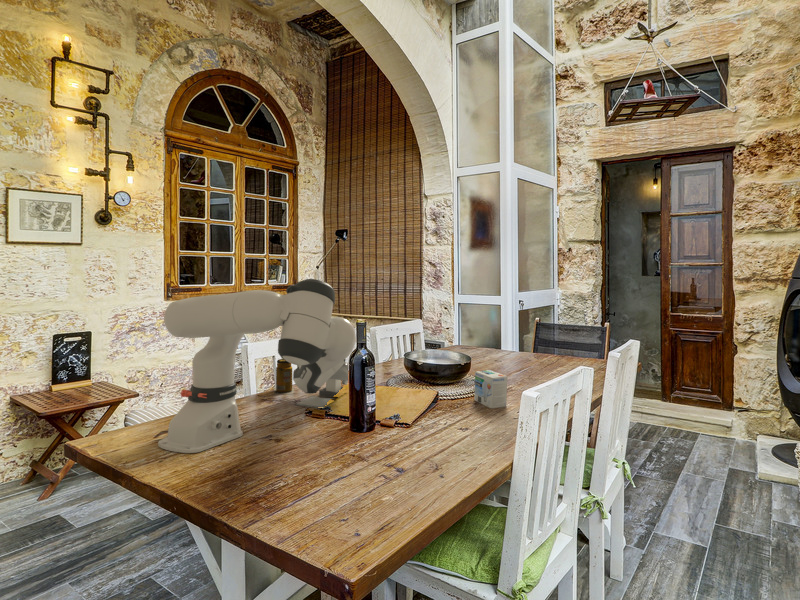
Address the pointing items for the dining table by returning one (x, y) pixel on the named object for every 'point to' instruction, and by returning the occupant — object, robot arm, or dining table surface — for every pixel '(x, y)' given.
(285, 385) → the condiment
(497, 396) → the light bulb box
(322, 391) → the collar
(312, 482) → the dining table surface
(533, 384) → the dining table surface
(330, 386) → the post
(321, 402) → the tile
